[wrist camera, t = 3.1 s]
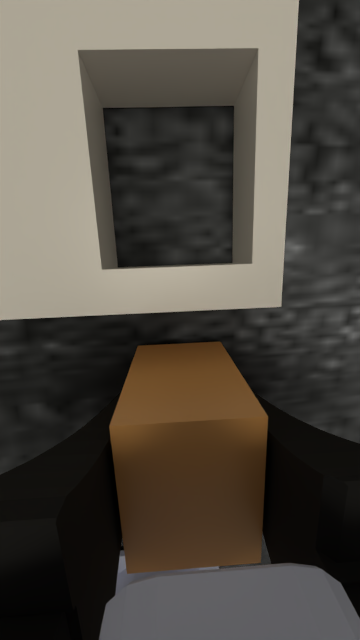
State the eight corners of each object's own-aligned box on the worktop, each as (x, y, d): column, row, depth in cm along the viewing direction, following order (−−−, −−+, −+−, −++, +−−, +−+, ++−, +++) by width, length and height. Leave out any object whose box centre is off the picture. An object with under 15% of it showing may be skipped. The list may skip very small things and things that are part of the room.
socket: (255, 296, 13) (290, 310, 9) (15, 306, 12) (-51, 326, 9) (269, -146, 9) (341, -432, 5) (-76, -153, 9) (-262, -468, 5)
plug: (216, 418, 14) (260, 562, 7) (146, 423, 14) (126, 574, 7) (216, 335, 13) (267, 416, 6) (140, 339, 13) (109, 426, 6)
